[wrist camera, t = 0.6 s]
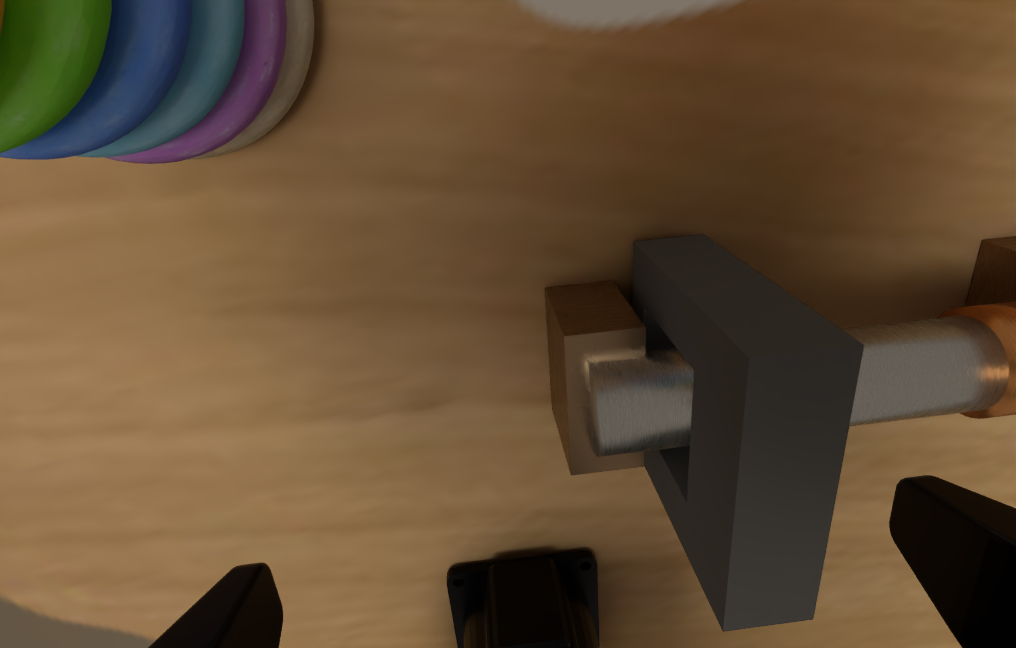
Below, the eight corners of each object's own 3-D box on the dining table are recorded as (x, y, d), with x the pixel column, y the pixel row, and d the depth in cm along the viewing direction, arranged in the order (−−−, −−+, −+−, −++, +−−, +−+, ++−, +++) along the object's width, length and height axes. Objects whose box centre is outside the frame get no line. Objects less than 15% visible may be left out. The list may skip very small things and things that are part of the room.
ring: (632, 439, 23) (722, 631, 15) (633, 241, 20) (749, 358, 12) (692, 432, 23) (813, 619, 15) (703, 234, 20) (864, 345, 12)
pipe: (552, 408, 23) (581, 513, 17) (544, 288, 21) (575, 364, 15) (1008, 354, 23) (1169, 439, 18) (1045, 233, 21) (1238, 288, 16)
